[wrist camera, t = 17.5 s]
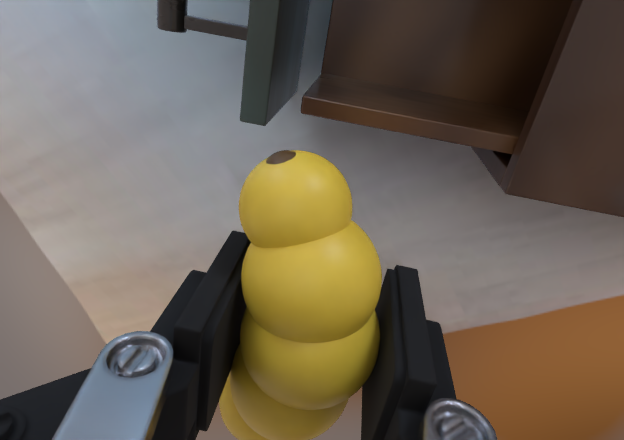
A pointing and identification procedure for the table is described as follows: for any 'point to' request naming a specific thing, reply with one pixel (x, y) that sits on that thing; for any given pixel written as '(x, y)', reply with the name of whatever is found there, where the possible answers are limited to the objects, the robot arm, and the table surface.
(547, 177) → the cabinet
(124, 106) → the table surface
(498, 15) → the drawer
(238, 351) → the yellow caterpillar toy
